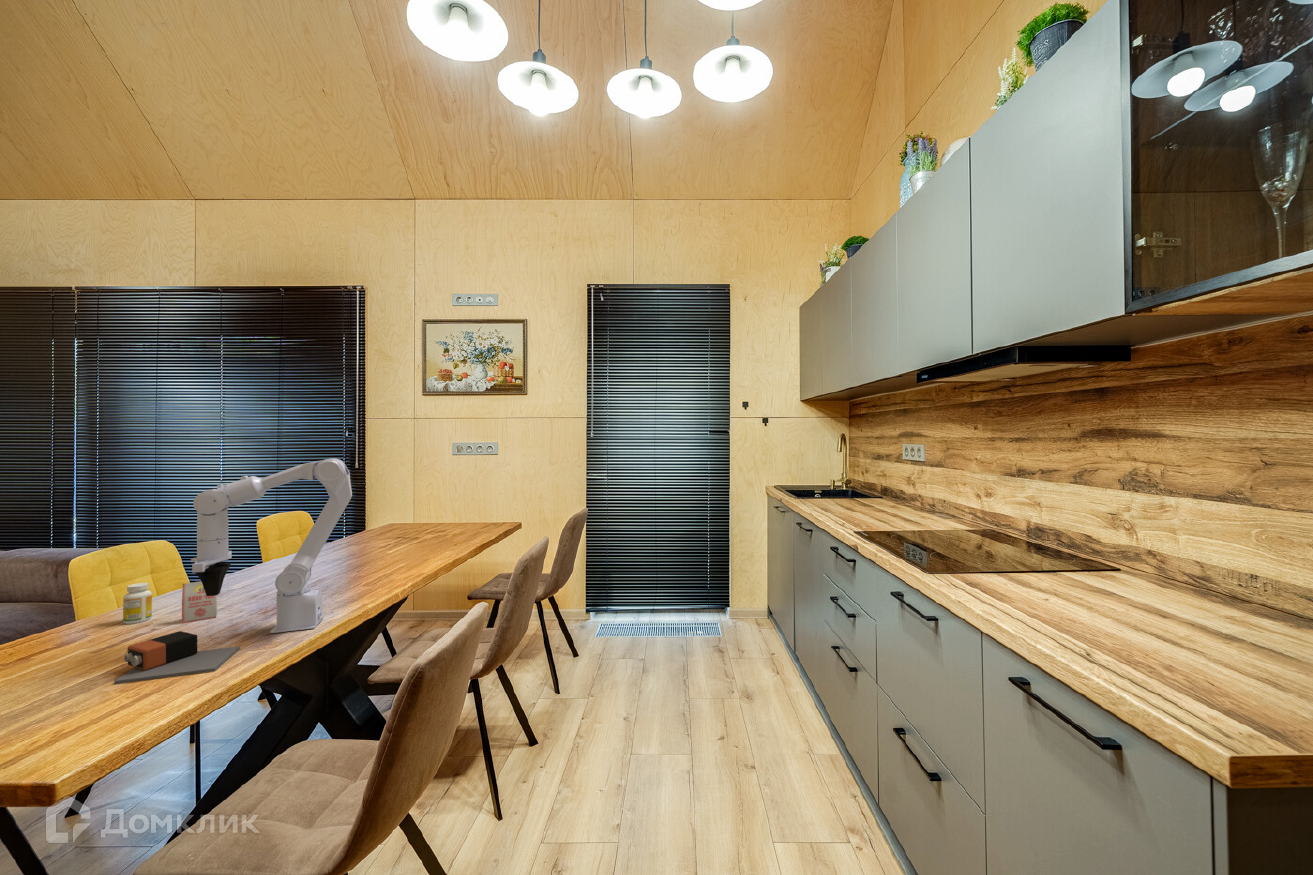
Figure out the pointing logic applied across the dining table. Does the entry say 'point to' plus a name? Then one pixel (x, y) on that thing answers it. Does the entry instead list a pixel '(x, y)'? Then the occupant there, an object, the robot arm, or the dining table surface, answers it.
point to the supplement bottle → (137, 604)
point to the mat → (183, 666)
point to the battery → (161, 650)
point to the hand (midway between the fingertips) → (213, 595)
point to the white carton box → (197, 603)
